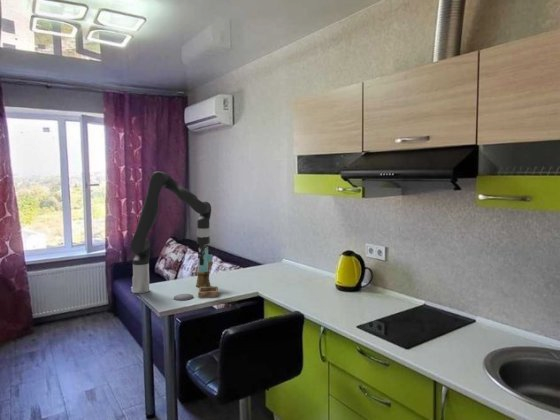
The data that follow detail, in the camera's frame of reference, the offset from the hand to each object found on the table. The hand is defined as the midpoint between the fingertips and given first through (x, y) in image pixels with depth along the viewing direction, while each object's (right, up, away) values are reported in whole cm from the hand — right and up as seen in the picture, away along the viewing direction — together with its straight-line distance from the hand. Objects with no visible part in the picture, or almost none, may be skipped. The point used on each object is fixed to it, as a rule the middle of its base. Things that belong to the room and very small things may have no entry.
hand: (203, 263), depth 230 cm
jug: (+1, -5, 0) cm, 5 cm away
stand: (+3, -19, +3) cm, 19 cm away
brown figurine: (-3, -18, +19) cm, 26 cm away
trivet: (-11, -19, -4) cm, 22 cm away
